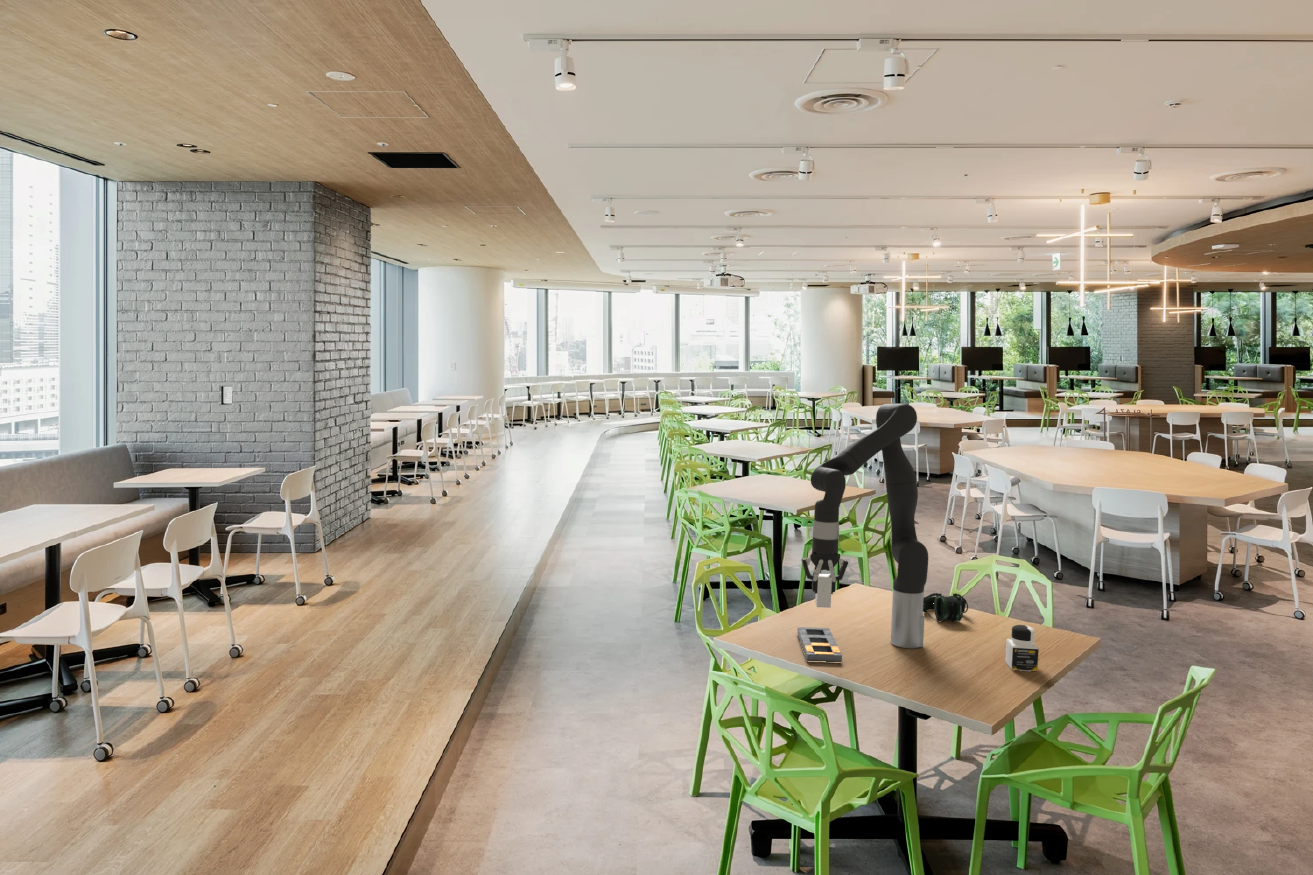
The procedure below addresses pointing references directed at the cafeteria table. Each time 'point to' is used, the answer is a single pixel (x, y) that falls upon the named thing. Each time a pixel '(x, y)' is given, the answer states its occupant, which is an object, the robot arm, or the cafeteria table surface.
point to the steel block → (823, 591)
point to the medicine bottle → (1022, 649)
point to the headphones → (945, 606)
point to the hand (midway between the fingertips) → (823, 592)
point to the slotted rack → (819, 644)
